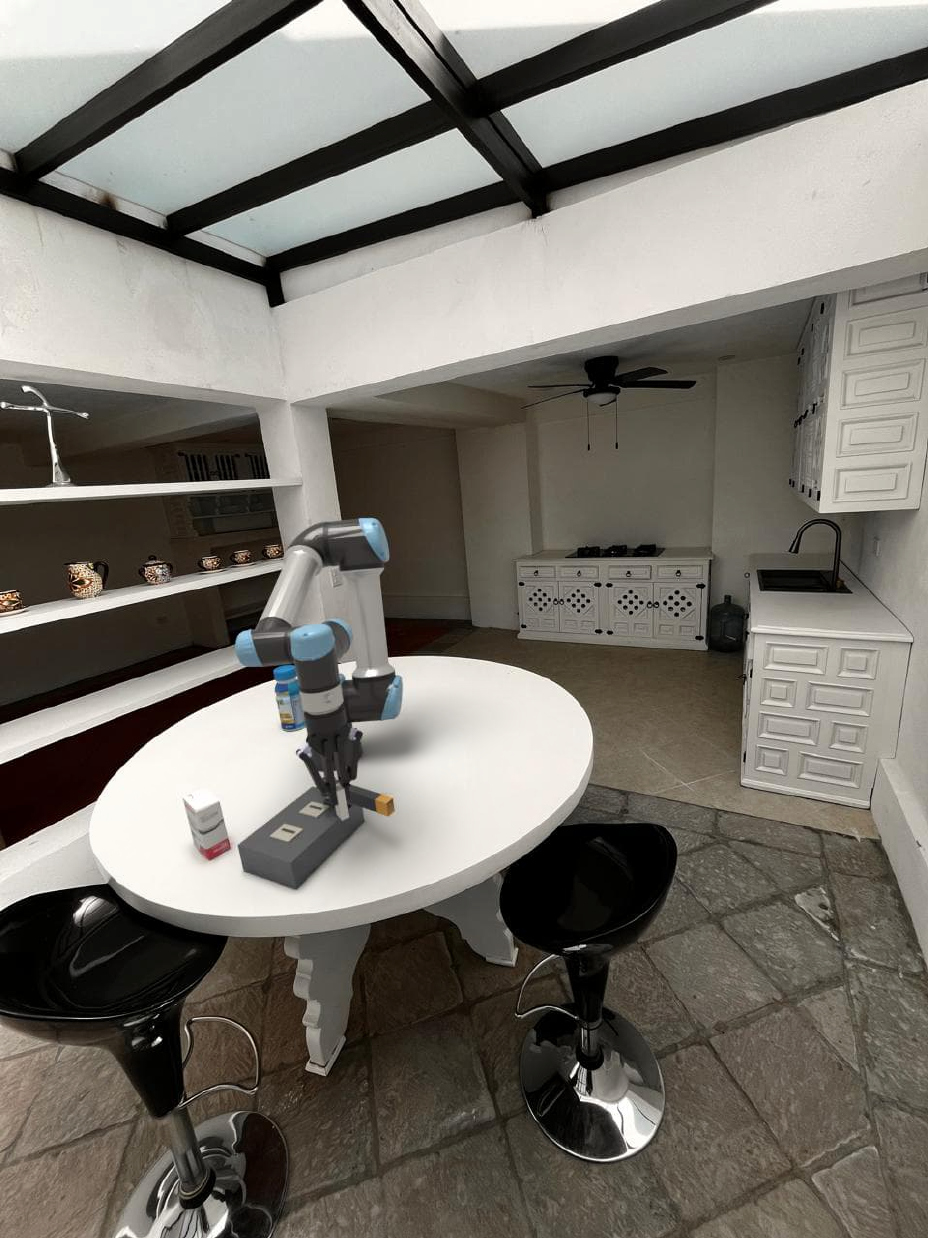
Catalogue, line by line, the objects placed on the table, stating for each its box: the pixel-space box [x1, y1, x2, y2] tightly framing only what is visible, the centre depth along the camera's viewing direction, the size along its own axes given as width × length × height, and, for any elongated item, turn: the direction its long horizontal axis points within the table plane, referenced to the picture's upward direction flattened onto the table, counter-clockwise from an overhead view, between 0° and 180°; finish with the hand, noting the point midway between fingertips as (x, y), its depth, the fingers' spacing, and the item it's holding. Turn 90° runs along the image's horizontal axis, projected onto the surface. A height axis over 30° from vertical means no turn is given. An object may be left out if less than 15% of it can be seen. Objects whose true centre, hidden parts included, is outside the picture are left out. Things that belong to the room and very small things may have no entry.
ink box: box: [182, 787, 232, 861], centre depth 106 cm, size 8×5×12 cm, turn 47°
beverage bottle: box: [273, 664, 306, 732], centre depth 161 cm, size 8×8×20 cm
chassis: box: [237, 786, 366, 891], centre depth 104 cm, size 14×21×7 cm, turn 154°
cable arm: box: [321, 776, 396, 818], centre depth 106 cm, size 4×20×3 cm, turn 58°
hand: (342, 815), depth 100 cm, fingers closed
